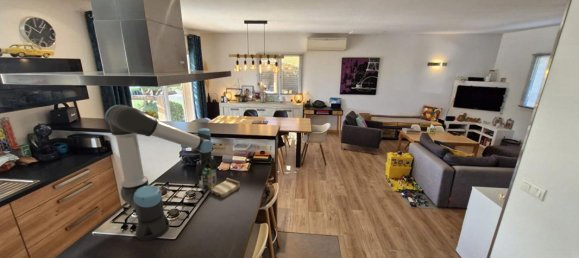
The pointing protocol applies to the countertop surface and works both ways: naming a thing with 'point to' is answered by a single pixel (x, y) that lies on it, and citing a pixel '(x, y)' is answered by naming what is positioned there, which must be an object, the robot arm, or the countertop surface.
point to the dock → (225, 188)
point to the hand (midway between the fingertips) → (207, 181)
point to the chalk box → (208, 178)
